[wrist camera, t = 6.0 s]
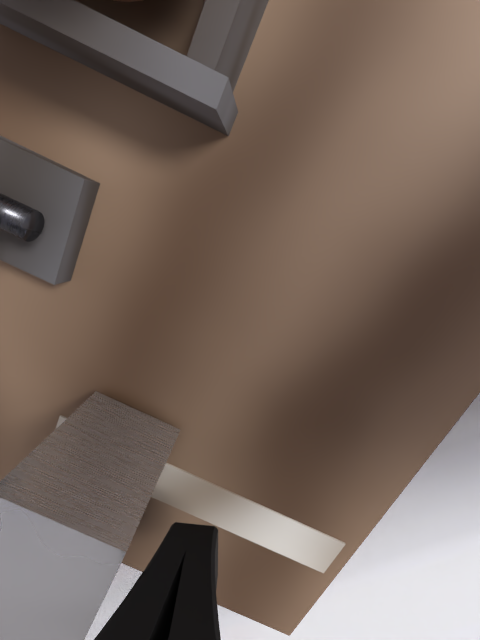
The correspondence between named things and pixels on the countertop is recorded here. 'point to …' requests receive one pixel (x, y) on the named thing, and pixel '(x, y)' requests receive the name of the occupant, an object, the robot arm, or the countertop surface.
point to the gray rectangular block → (75, 517)
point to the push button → (128, 0)
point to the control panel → (247, 258)
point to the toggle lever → (20, 219)
